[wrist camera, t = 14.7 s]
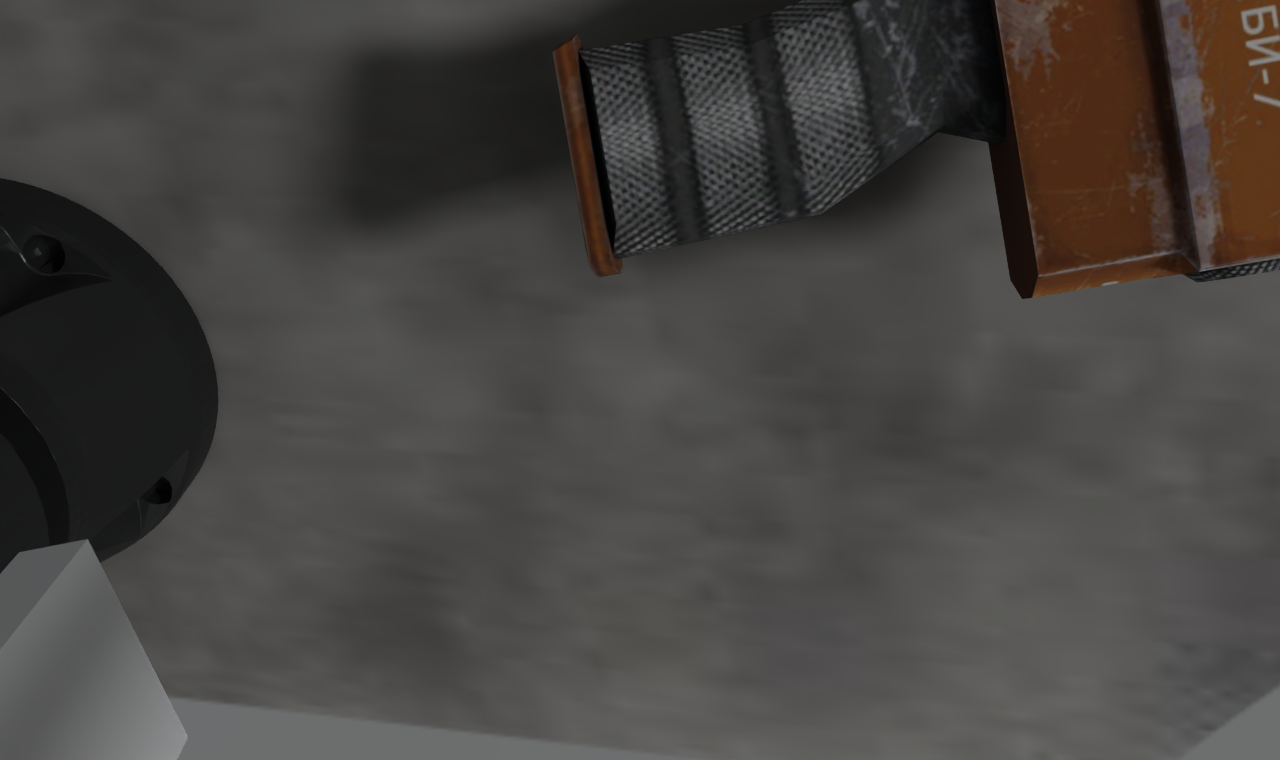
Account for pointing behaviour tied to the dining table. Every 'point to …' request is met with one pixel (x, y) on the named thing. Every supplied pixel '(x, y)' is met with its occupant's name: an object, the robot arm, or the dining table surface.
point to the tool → (948, 128)
